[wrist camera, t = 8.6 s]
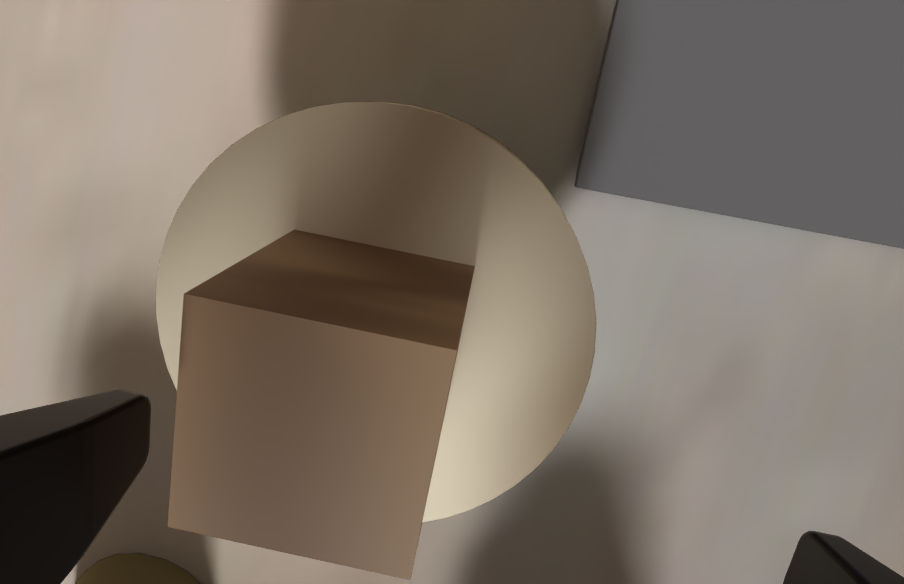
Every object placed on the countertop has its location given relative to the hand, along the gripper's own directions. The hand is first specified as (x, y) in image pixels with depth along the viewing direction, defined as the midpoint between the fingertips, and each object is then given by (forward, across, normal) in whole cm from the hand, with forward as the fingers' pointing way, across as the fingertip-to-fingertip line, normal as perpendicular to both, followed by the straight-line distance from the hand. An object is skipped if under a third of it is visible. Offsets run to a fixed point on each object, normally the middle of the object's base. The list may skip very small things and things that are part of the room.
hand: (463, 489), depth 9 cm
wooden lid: (+7, +3, 0) cm, 7 cm away
